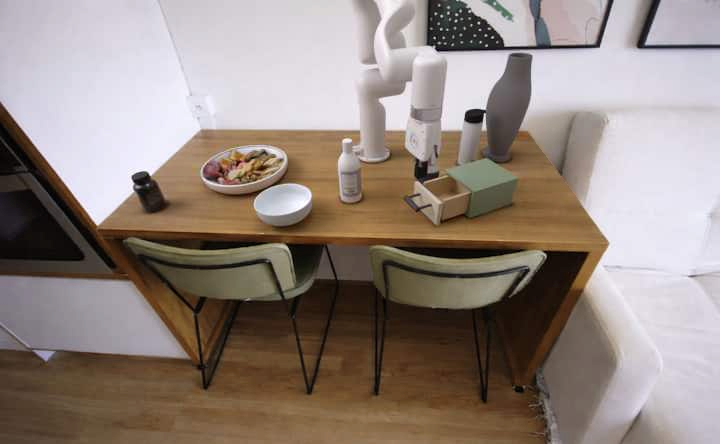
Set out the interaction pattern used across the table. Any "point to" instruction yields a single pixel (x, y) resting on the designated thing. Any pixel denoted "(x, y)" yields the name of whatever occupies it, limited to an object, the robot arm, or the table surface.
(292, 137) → the table surface
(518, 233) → the table surface
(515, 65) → the vase
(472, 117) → the travel mug
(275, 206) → the cereal bowl
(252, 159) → the bowl
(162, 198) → the supplement bottle
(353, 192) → the bath foam
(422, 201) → the drawer
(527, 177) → the table surface
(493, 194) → the cabinet
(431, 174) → the tin
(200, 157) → the table surface
